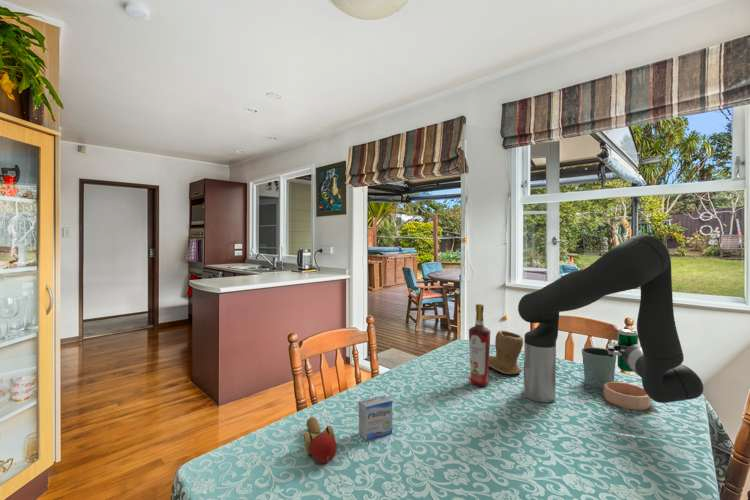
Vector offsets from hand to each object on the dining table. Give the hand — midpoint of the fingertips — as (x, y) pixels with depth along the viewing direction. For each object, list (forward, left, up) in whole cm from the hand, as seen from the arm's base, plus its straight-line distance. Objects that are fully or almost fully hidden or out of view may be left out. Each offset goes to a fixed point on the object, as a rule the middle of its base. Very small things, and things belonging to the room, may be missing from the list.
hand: (624, 345), depth 110 cm
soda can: (0, -3, -7) cm, 7 cm away
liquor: (-44, -3, -17) cm, 47 cm away
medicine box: (-67, -46, -17) cm, 83 cm away
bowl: (0, -2, -17) cm, 17 cm away
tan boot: (-36, +15, -17) cm, 43 cm away
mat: (0, -2, -17) cm, 17 cm away
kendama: (-79, -57, -17) cm, 98 cm away
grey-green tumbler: (-5, +10, -17) cm, 20 cm away
